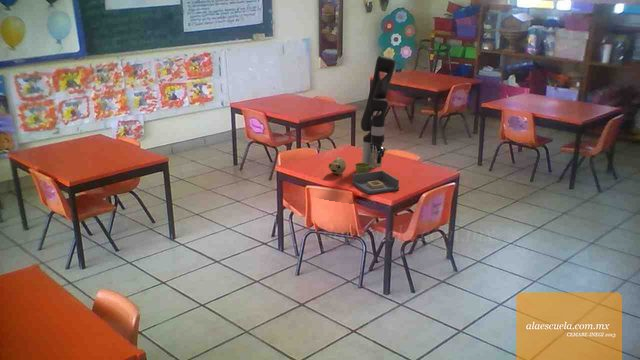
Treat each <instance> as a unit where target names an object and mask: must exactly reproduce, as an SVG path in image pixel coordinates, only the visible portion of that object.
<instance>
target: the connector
mask: <svg viewBox="0 0 640 360" xmlns="http://www.w3.org/2000/svg"><path fill="white" fill-rule="evenodd" d="M378 152H380V151H378ZM382 163H383V157H381V163H380V164H377V153H376V151H373V153H372V166H373V167H375V168H382V165H383V164H382ZM375 168H374V169H375Z"/></svg>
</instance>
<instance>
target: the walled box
mask: <svg viewBox="0 0 640 360" xmlns="http://www.w3.org/2000/svg"><path fill="white" fill-rule="evenodd" d="M399 180H400V179H398V178H396V177H394V176H393V175H391V174H389V173H388V172H386V171H384V170H375V171H368V172H367V173H360V174H357V173H353V174H352V185H353V186H355V187H356V188H358V189H359V190H361V191H362V192H364V193H365V194H367V195H368V196H369V195H377V194H383V193H389V192H390V191H391V192H396V191H400V186H399V184H400V183H399V182H400V181H399Z"/></svg>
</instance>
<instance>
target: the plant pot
mask: <svg viewBox="0 0 640 360" xmlns="http://www.w3.org/2000/svg"><path fill="white" fill-rule="evenodd" d="M354 166H355V169H356V174H360V173H367V172H370V171H369V170H370V169H369V167H370V164H368V163H362V162H357V163H355V164H354Z"/></svg>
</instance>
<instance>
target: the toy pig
mask: <svg viewBox="0 0 640 360" xmlns="http://www.w3.org/2000/svg"><path fill="white" fill-rule="evenodd" d="M346 168H347V164H346V161H345V160H344V158H343V157H339V156H337V157H336V158H335V159H334V160H333V161H332V162H331V163H329V164H328V169H329V170H330V171H331V174H332V175H334V174H335V175H339V176H341V175H342V174H343V173H344V172H345V170H346Z"/></svg>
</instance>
